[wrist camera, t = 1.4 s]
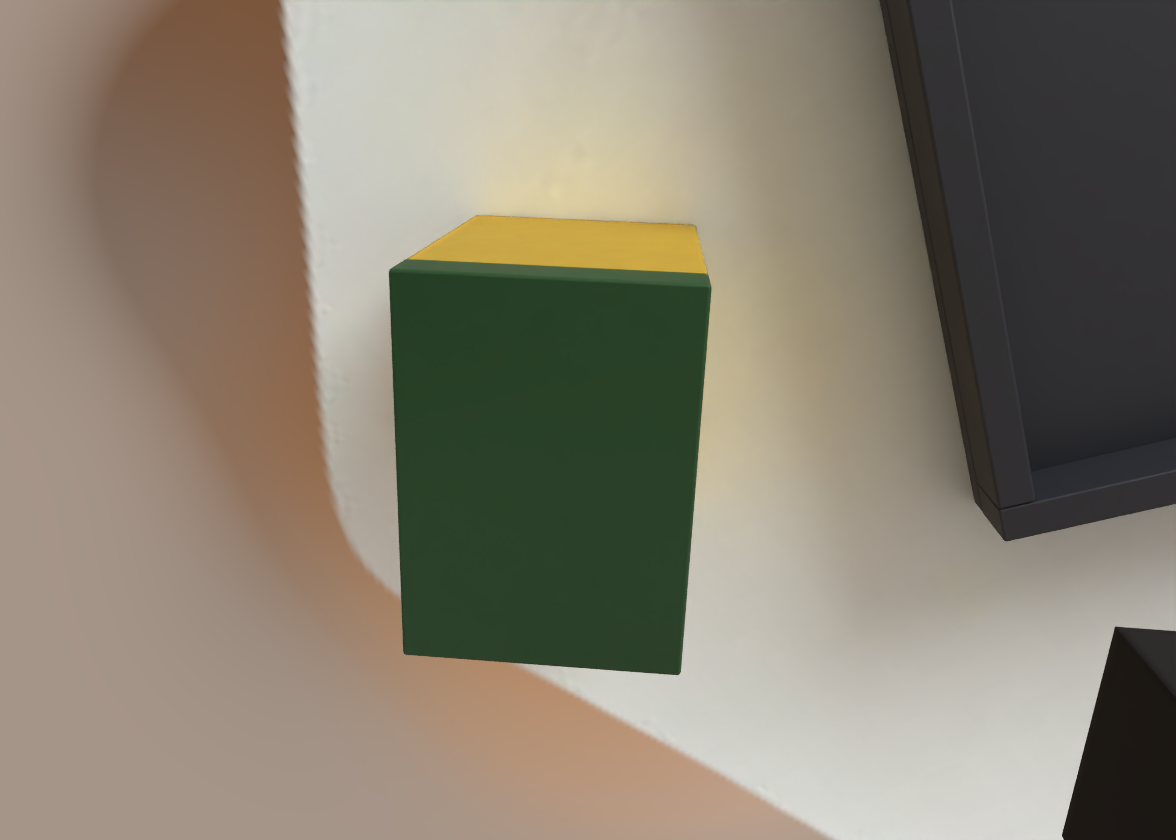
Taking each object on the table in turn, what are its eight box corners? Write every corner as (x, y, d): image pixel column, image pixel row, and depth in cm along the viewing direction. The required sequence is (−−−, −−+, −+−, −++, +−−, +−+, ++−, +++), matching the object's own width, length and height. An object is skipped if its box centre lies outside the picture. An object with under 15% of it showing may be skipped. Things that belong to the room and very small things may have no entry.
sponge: (474, 214, 21) (387, 268, 14) (696, 224, 21) (712, 284, 14) (477, 496, 23) (402, 656, 17) (676, 509, 23) (680, 677, 16)
